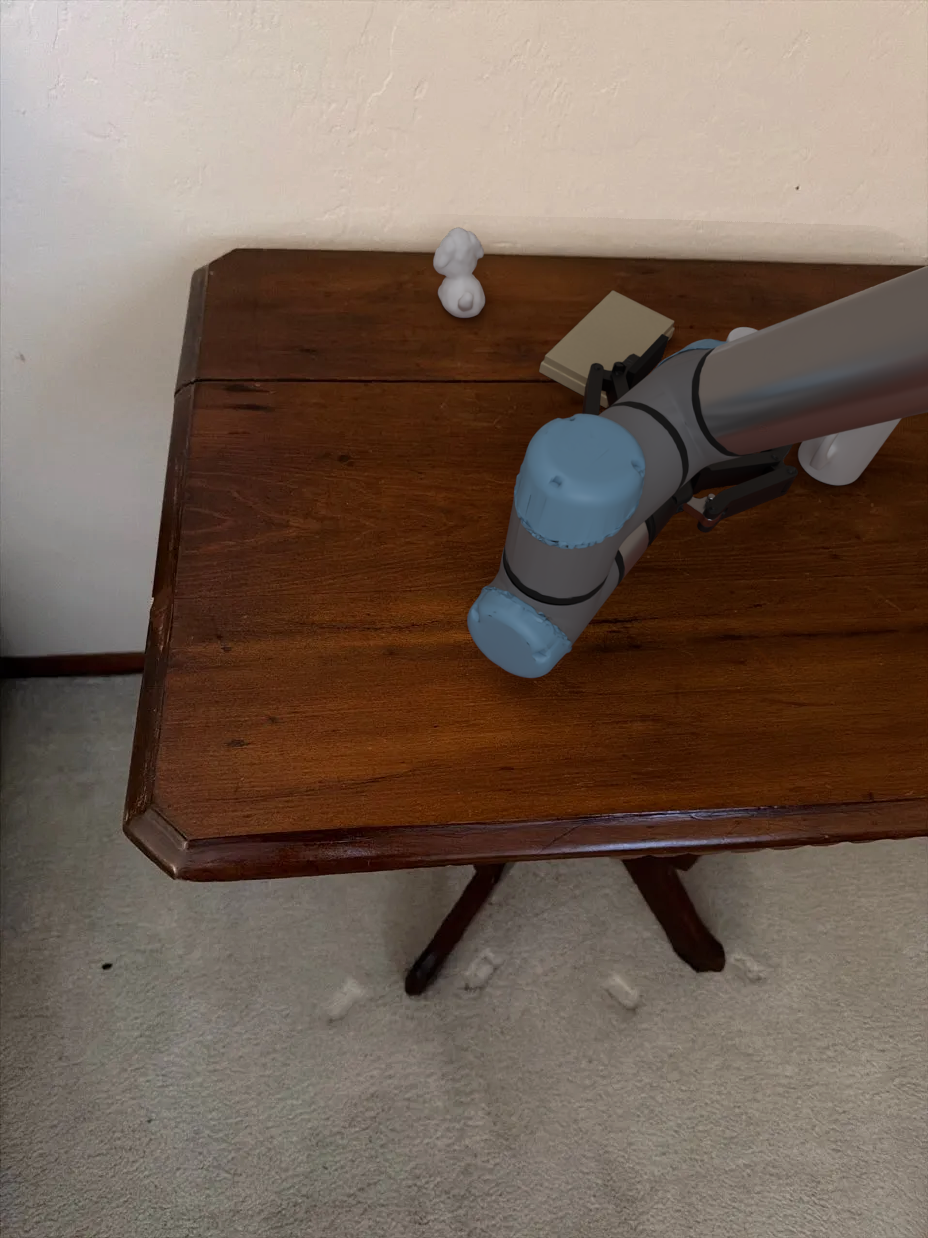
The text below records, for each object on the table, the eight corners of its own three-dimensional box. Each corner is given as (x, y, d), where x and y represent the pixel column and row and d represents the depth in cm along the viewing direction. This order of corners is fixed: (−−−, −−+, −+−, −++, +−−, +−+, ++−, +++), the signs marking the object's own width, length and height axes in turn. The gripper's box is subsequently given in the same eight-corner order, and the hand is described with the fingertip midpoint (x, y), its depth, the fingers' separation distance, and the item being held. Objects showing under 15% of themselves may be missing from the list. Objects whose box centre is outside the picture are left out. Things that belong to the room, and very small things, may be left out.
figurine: (464, 278, 96) (471, 210, 90) (499, 322, 93) (509, 255, 86) (420, 289, 95) (424, 221, 88) (454, 335, 91) (461, 267, 84)
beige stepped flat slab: (671, 337, 94) (677, 320, 92) (606, 408, 87) (611, 392, 85) (607, 304, 96) (612, 288, 94) (538, 371, 89) (542, 355, 87)
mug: (817, 426, 88) (874, 328, 78) (875, 464, 86) (942, 368, 76) (762, 476, 84) (815, 379, 74) (822, 517, 82) (885, 423, 72)
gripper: (478, 475, 77) (601, 351, 87) (732, 627, 70) (832, 474, 81) (487, 412, 71) (619, 286, 81) (767, 572, 64) (871, 413, 74)
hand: (726, 380), depth 81 cm, fingers open, 13 cm apart
